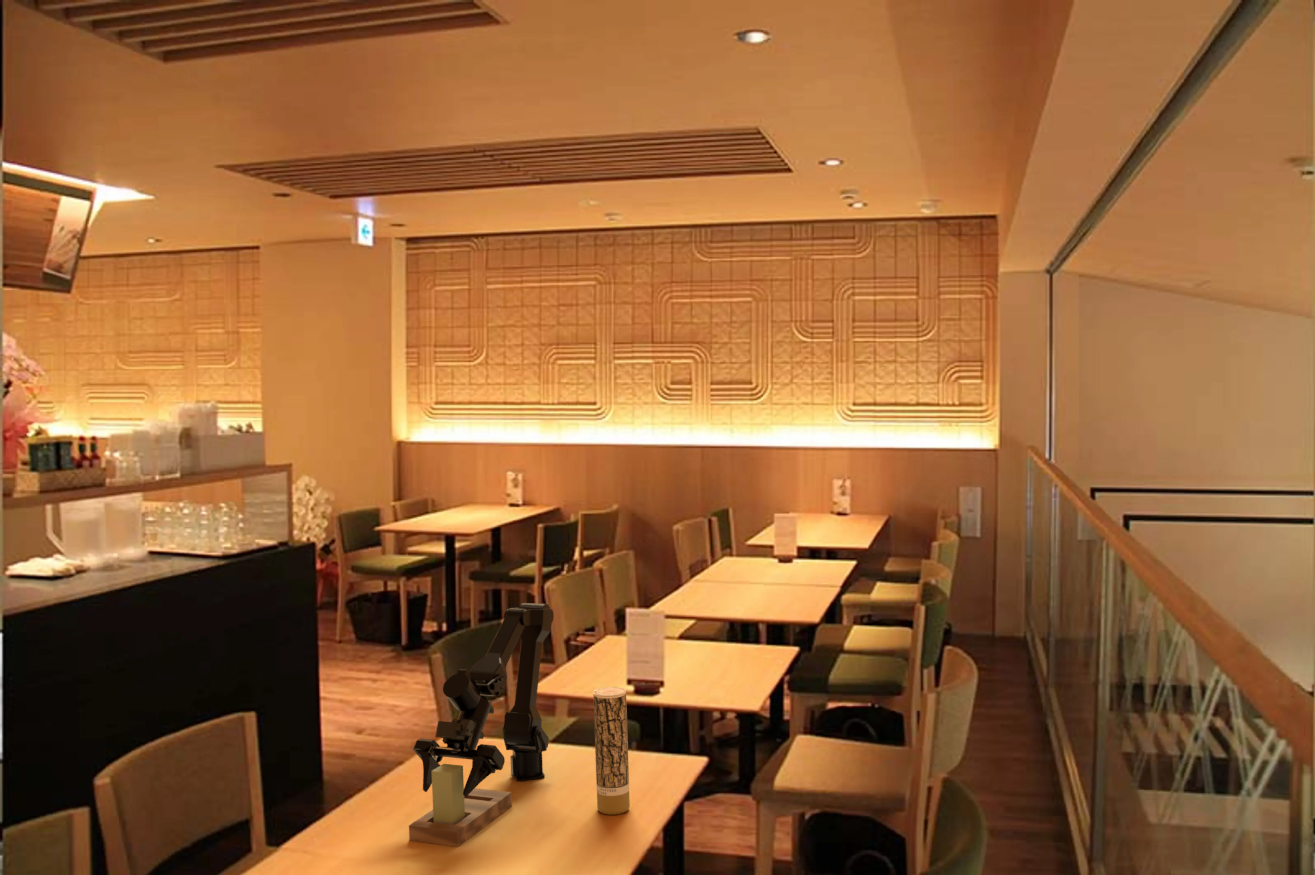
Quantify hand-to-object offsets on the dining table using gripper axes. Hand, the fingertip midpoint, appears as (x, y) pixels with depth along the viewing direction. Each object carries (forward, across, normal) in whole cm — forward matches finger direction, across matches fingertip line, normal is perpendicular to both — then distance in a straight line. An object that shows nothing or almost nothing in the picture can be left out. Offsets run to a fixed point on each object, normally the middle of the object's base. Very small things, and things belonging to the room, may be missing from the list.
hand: (444, 793), depth 222 cm
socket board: (+1, 0, +10) cm, 10 cm away
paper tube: (-9, +27, +21) cm, 36 cm away
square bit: (+5, 0, +7) cm, 9 cm away
